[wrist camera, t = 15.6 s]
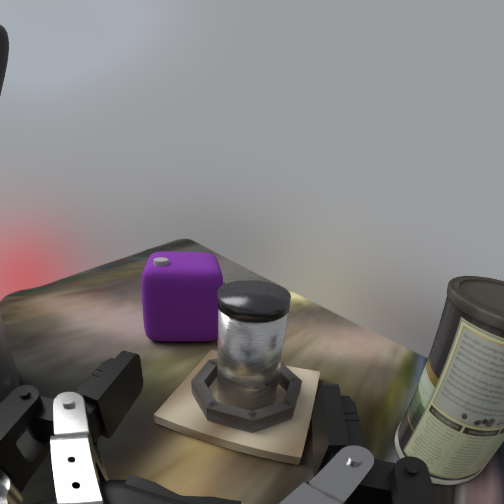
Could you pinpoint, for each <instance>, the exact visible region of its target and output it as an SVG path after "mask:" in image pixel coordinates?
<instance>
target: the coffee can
mask: <svg viewBox="0 0 504 504" xmlns="http://www.w3.org/2000/svg"><path fill="white" fill-rule="evenodd" d="M503 441H504V281H500V280H496V279H491V278H485V277H477V276H462V277H456V278H453V279H452V280H451V281H449V284H448V288H447V298H446V302H445V306H444V310H443V313H442V317H441V320H440V324H439V327H438V330H437V333H436V337H435V340H434V343H433V346H432V349H431V352H430V355H429V357H428V360H427V363H426V366H425V368H424V371H423V374H422V376H421V379H420V381H419V384H418V386H417V389H416V391H415V393H414V396H413V398H412V400H411V402H410V405H409V407H408V409H407V411H406V413H405V416H404V418H403V420H402V422H401V423H400V424H399V426H398V428H397V430H396V434H395V447H396V451H397V454H398V456H399V458H400V459H401V458H403V457H408V456H412V457H417V458H419V459H421V460H423V461H424V462H425V463H426V465H427V467H428V470H429V473H430V477H431V481H432V483H433V484H440V485H457V484H461V483H464V482H467V481H469V480H472V479H473V478H475V477H476V476H477V475H479V474H480V473H481V472H482V471H483V469H484V468H485V466H486V465H487V463H488V462H489V460H490V459H491V458H492V456H493V455H494V454H495V452H496V451H497V450H498V448H499V447H500V446H501V444H502V443H503Z"/></svg>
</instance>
